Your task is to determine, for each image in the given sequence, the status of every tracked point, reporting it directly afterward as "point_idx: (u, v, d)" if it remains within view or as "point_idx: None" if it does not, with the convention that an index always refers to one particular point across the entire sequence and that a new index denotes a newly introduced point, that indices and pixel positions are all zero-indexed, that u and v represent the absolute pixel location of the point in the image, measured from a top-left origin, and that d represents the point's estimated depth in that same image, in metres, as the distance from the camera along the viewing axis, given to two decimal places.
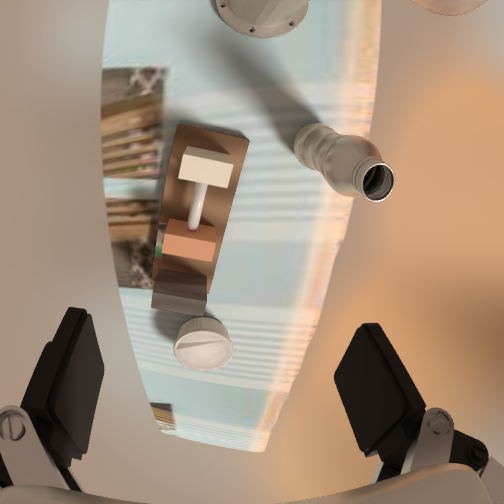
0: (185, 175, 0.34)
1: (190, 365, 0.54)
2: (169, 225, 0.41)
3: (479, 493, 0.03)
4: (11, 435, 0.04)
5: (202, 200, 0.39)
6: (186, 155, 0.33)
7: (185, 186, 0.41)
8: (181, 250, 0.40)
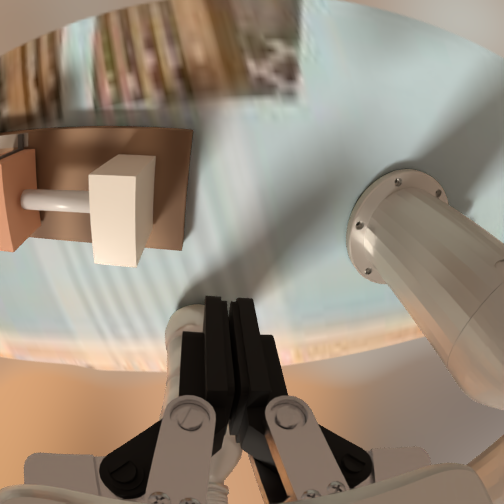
0: (96, 187, 0.16)
1: None
2: (20, 159, 0.17)
3: (479, 493, 0.03)
4: (181, 421, 0.06)
5: (67, 210, 0.19)
6: (134, 182, 0.16)
7: (87, 164, 0.21)
8: None
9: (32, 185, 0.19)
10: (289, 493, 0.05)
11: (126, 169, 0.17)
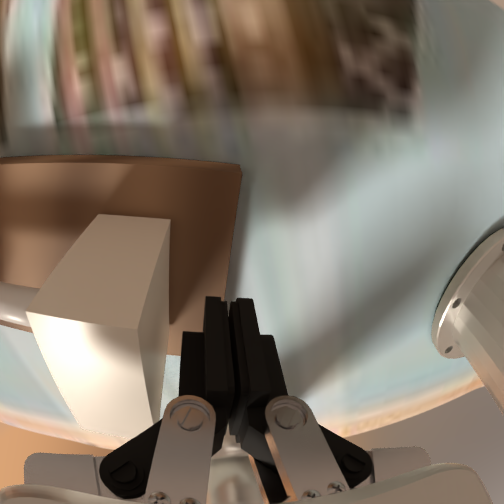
0: (49, 338, 0.06)
1: None
2: None
3: (479, 493, 0.03)
4: (181, 421, 0.06)
5: (19, 323, 0.09)
6: (135, 339, 0.06)
7: (47, 227, 0.11)
8: None
9: None
10: (289, 493, 0.05)
11: (111, 285, 0.07)
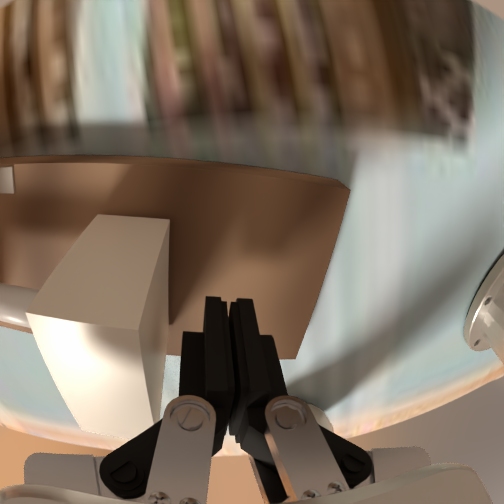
0: (49, 339, 0.06)
1: None
2: None
3: (479, 493, 0.03)
4: (181, 421, 0.06)
5: (19, 324, 0.09)
6: (136, 340, 0.06)
7: None
8: None
9: None
10: (289, 493, 0.05)
11: (111, 286, 0.07)
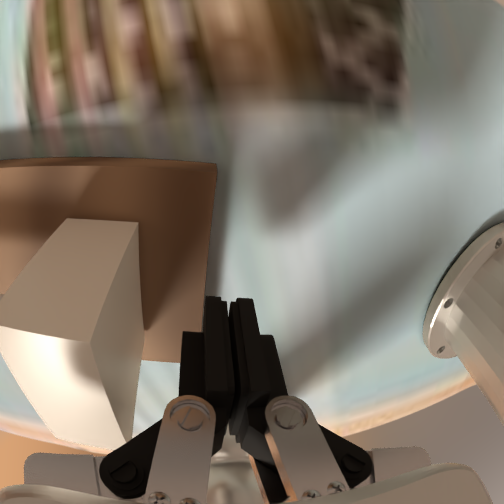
0: (11, 349, 0.05)
1: None
2: None
3: (479, 493, 0.03)
4: (181, 421, 0.06)
5: None
6: (90, 352, 0.06)
7: (23, 232, 0.10)
8: None
9: None
10: (289, 493, 0.05)
11: (69, 295, 0.06)
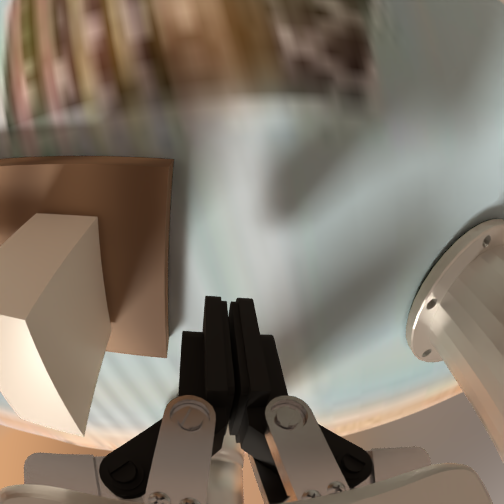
0: None
1: None
2: None
3: (479, 493, 0.03)
4: (181, 421, 0.06)
5: None
6: (27, 330, 0.05)
7: (1, 227, 0.10)
8: None
9: None
10: (289, 493, 0.05)
11: (19, 280, 0.06)
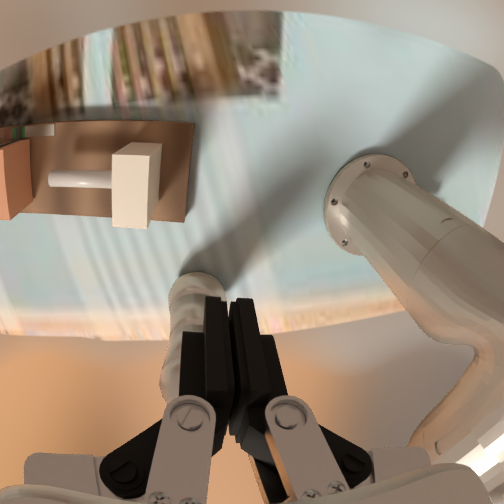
0: (118, 164, 0.20)
1: None
2: (17, 146, 0.21)
3: (479, 493, 0.03)
4: (181, 421, 0.06)
5: (89, 186, 0.23)
6: (148, 160, 0.21)
7: (106, 150, 0.25)
8: None
9: (26, 168, 0.23)
10: (289, 493, 0.05)
11: (141, 151, 0.22)
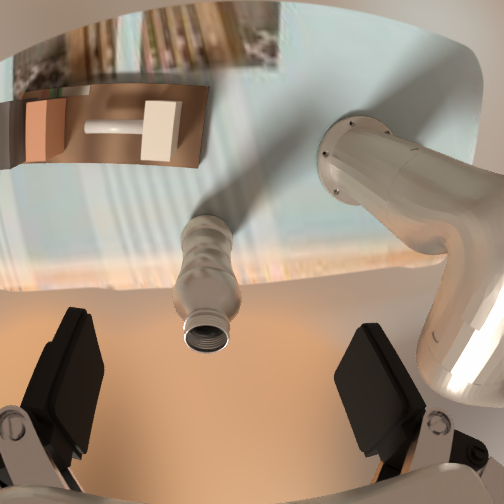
0: (149, 108, 0.25)
1: None
2: (57, 101, 0.25)
3: (479, 493, 0.03)
4: (11, 435, 0.04)
5: (120, 132, 0.28)
6: (174, 105, 0.25)
7: (135, 106, 0.30)
8: (31, 124, 0.24)
9: (62, 121, 0.28)
10: None
11: None
